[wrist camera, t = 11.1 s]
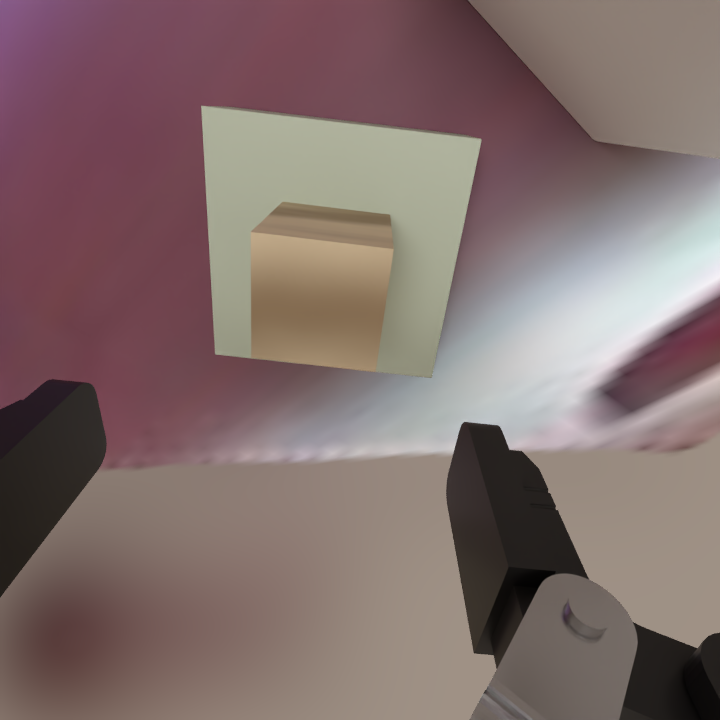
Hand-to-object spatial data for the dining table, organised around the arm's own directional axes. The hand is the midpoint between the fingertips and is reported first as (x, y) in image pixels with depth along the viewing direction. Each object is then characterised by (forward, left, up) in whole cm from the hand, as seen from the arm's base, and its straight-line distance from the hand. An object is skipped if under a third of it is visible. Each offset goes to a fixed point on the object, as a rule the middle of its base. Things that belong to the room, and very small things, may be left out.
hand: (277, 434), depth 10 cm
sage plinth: (0, 0, -18) cm, 18 cm away
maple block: (0, 0, -14) cm, 14 cm away
